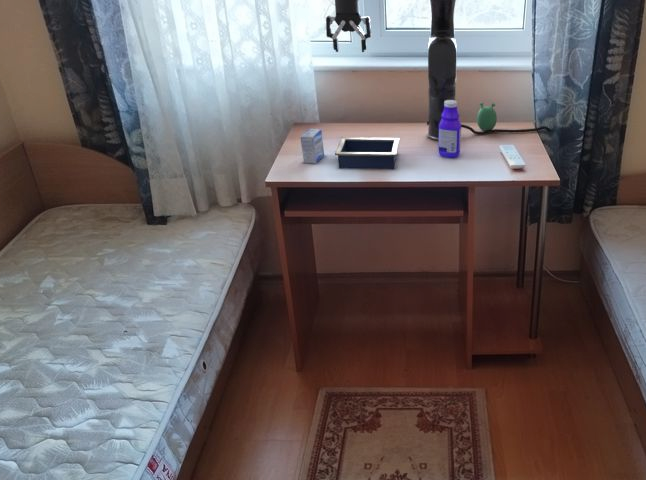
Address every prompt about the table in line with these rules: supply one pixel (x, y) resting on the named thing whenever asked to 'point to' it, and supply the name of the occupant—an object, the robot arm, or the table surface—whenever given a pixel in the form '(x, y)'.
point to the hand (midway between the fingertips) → (350, 51)
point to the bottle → (449, 131)
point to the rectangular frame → (367, 153)
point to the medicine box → (312, 146)
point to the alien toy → (486, 117)
